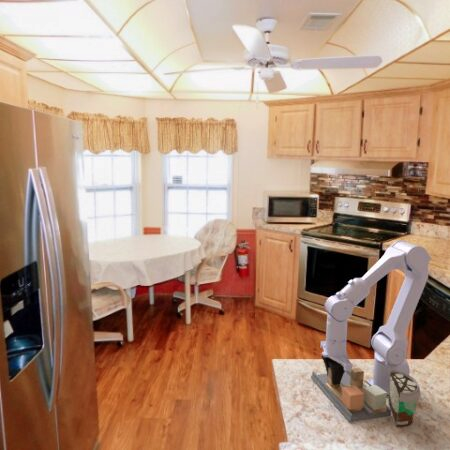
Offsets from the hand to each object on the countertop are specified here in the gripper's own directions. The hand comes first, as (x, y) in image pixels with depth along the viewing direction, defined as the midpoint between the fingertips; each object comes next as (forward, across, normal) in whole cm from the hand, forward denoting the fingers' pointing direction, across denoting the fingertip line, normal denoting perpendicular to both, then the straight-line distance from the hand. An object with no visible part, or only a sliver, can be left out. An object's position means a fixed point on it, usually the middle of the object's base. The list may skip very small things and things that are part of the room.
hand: (333, 381), depth 112 cm
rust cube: (+1, +10, 0) cm, 10 cm away
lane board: (+3, +3, +3) cm, 5 cm away
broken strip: (+3, +7, +6) cm, 10 cm away
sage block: (+1, +11, +6) cm, 13 cm away
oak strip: (+3, +5, 0) cm, 6 cm away
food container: (+3, +15, +12) cm, 20 cm away
